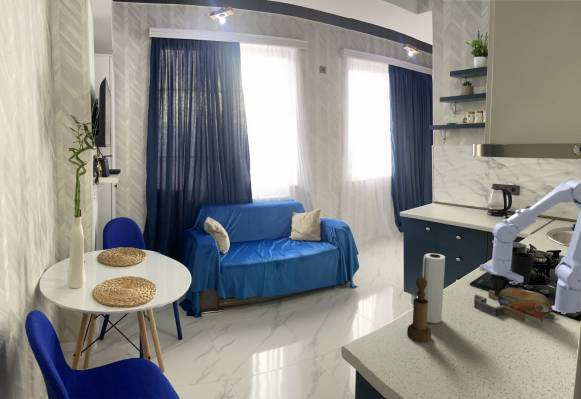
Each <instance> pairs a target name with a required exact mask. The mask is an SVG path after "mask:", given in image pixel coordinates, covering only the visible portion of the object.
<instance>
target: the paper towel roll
mask: <svg viewBox="0 0 581 399" xmlns="http://www.w3.org/2000/svg"><path fill="white" fill-rule="evenodd" d="M422 261H423V262H422V277H423V278H425V279H426V280H427V286H426V287H425V289H424V292H425V297H424V299H426V300H427V301H428V310H427V323H429V324H440V323H441V322H442V318H443V316H442V315H443V302H444V301H443V300H444V283H445V282H444V281H445V270H446V269H445V267H446V256H445V255H443V254H440V253H425V254H424V255H423V260H422Z"/></svg>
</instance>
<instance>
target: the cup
mask: <svg viewBox="0 0 581 399" xmlns="http://www.w3.org/2000/svg"><path fill="white" fill-rule="evenodd" d="M534 260H535V255H533V254H530V253H528V252H527V253H522V252H514V253H512V272H514V273H516V274H518V275H520V276H523V277H524V278H523V282H522V283H520V284H523V285H526V284H528V283H530V279H531V275H532V270H533V264H534ZM528 285H529V284H528Z"/></svg>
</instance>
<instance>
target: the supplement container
mask: <svg viewBox="0 0 581 399" xmlns="http://www.w3.org/2000/svg"><path fill="white" fill-rule="evenodd" d="M527 247H528V246H527V245H526V244H524V243H522V242H518V241H513V248H512V253H514V252H522V253H528V252H527ZM511 268H512V259H511Z"/></svg>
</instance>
